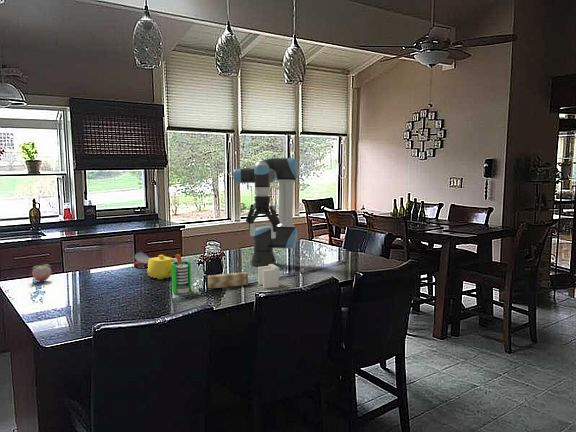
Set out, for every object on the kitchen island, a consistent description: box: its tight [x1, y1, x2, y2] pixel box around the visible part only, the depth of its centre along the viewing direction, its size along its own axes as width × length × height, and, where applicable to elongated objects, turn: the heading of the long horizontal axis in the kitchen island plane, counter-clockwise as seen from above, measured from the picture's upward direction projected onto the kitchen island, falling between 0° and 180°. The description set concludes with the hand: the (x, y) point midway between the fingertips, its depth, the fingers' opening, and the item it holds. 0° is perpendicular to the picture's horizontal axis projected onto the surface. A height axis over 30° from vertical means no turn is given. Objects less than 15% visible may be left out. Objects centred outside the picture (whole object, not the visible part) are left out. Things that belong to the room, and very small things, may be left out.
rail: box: [207, 271, 249, 289], centre depth 243 cm, size 20×4×6 cm, turn 112°
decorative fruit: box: [31, 263, 52, 282], centre depth 253 cm, size 9×8×10 cm
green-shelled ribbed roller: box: [171, 253, 192, 294], centre depth 232 cm, size 9×8×18 cm
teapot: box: [146, 254, 176, 280], centre depth 263 cm, size 20×12×12 cm, turn 46°
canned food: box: [133, 251, 150, 269], centre depth 288 cm, size 11×10×10 cm
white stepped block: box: [257, 264, 280, 289], centre depth 242 cm, size 9×8×10 cm
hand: (262, 237), depth 243 cm, fingers open, 13 cm apart
